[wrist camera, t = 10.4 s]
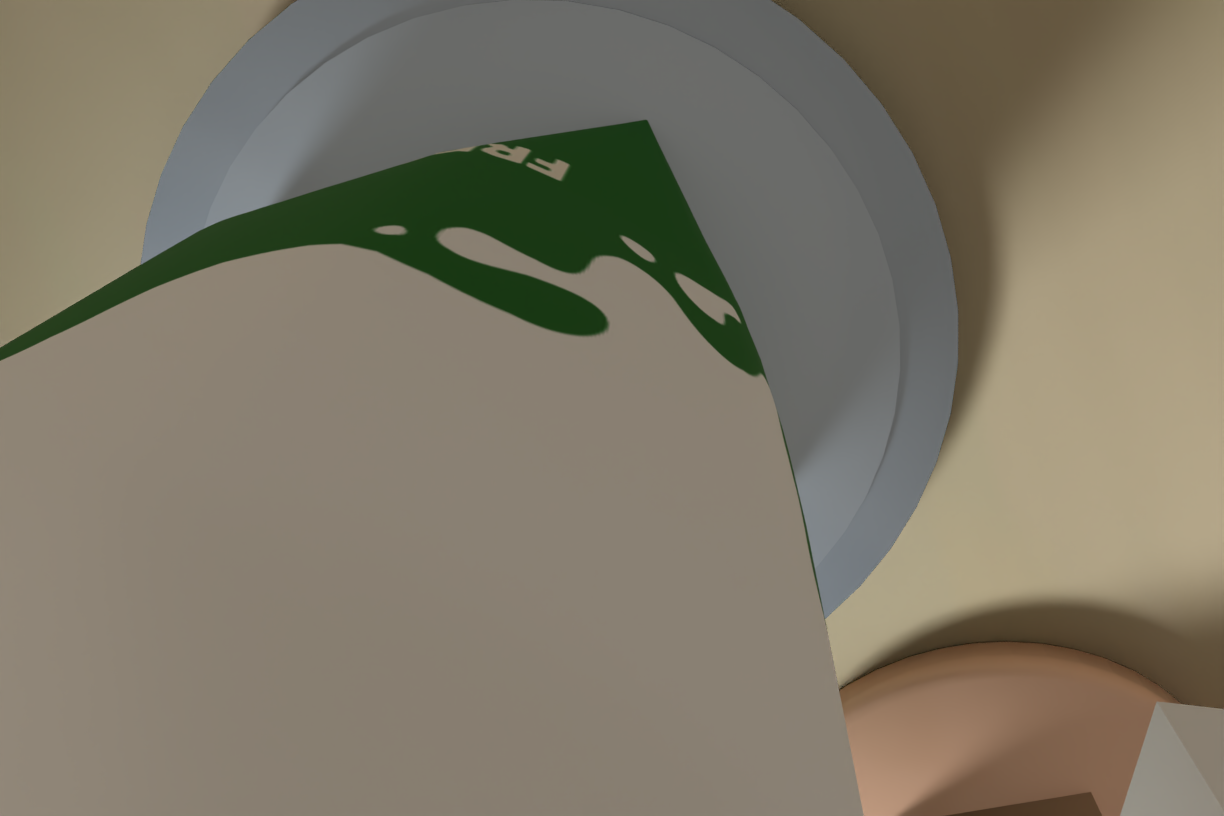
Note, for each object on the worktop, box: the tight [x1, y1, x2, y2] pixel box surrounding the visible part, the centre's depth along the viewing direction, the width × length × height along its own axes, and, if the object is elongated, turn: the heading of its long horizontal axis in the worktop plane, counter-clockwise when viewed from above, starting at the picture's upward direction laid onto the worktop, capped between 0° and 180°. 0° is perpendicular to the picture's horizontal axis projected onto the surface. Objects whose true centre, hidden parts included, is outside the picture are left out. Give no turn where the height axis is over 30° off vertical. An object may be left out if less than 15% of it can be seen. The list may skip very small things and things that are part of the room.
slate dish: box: [141, 0, 958, 619], centre depth 20 cm, size 14×14×2 cm
